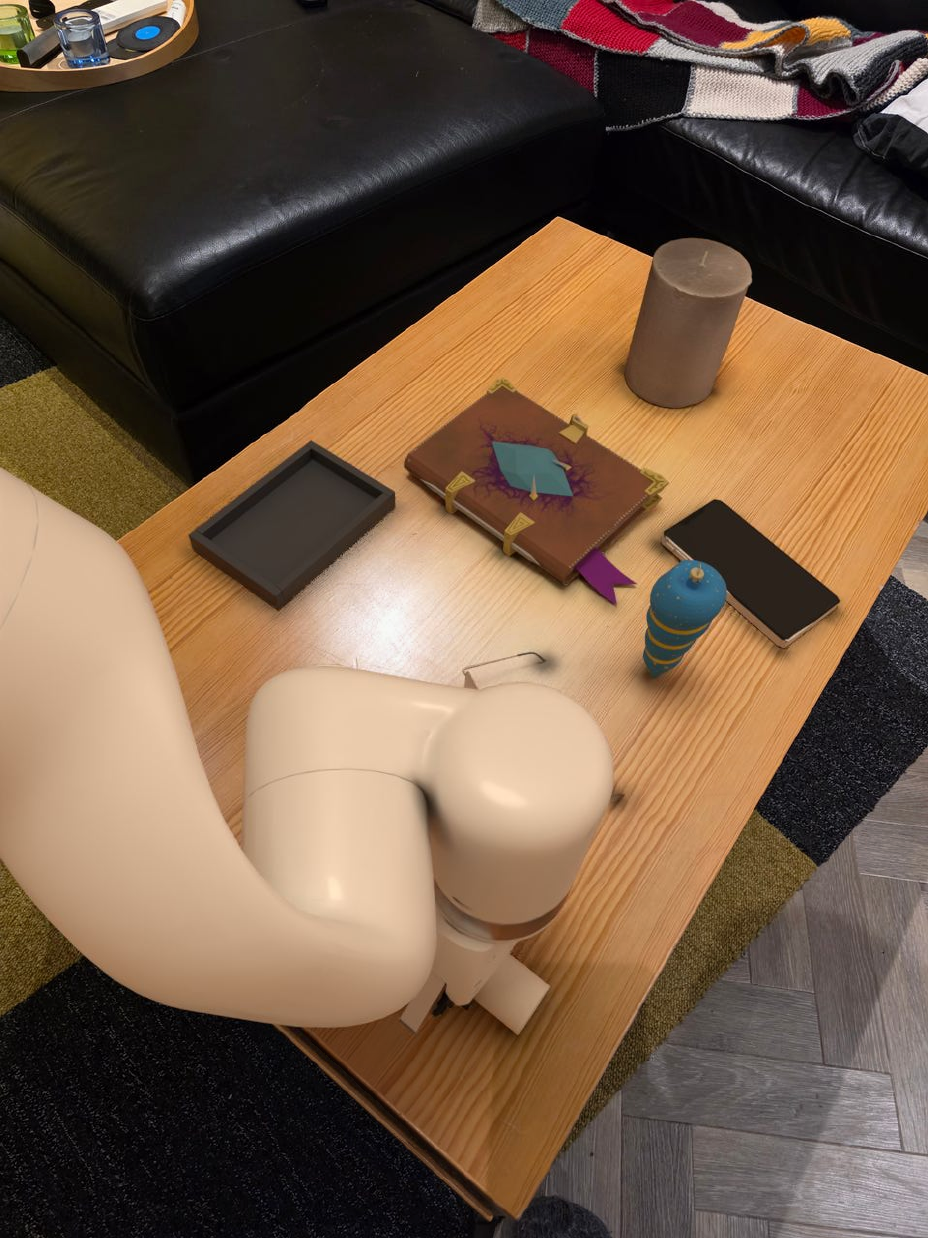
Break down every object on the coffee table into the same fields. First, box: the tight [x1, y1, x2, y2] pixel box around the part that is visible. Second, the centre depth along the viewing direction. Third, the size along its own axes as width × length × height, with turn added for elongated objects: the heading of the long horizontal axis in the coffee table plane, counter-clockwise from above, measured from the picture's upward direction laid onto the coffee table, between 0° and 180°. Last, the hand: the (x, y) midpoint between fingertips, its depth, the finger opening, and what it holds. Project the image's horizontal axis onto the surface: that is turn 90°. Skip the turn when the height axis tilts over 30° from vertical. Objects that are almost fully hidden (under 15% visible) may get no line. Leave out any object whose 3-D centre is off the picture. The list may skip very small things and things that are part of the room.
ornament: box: [642, 560, 727, 679], centre depth 67 cm, size 5×5×15 cm
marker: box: [473, 953, 551, 1036], centre depth 58 cm, size 10×4×4 cm
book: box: [403, 377, 670, 606], centre depth 82 cm, size 16×25×5 cm, turn 47°
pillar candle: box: [624, 237, 753, 409], centre depth 89 cm, size 10×10×15 cm
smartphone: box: [660, 498, 841, 649], centre depth 80 cm, size 8×1×15 cm
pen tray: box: [188, 439, 396, 611], centre depth 80 cm, size 16×11×2 cm
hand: (478, 953), depth 59 cm, fingers open, 5 cm apart
